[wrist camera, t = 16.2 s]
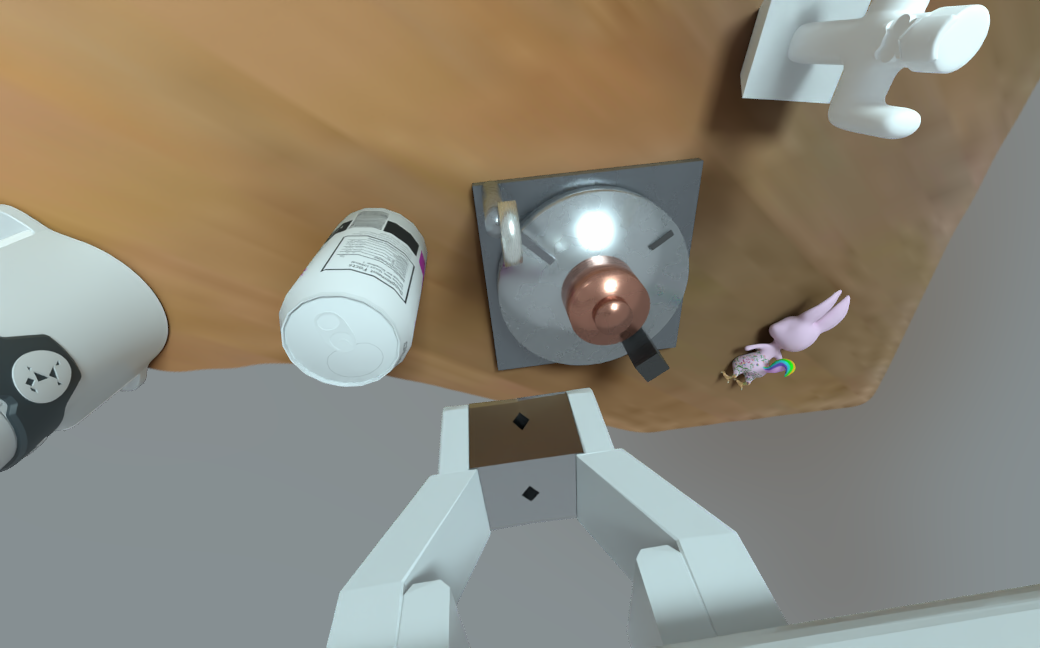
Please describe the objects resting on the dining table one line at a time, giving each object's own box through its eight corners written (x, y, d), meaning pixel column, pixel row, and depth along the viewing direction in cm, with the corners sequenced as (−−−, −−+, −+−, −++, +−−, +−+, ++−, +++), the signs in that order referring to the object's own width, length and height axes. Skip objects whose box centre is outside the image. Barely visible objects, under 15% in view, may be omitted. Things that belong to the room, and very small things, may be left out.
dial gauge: (487, 237, 38) (494, 294, 29) (479, 174, 35) (483, 216, 26) (541, 231, 38) (564, 285, 29) (538, 167, 35) (562, 207, 26)
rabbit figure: (740, 375, 54) (852, 295, 46) (761, 413, 50) (889, 332, 42) (707, 358, 52) (818, 270, 44) (725, 396, 48) (853, 306, 39)
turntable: (568, 380, 48) (582, 426, 42) (457, 273, 39) (455, 312, 34) (709, 285, 43) (748, 321, 37) (618, 139, 34) (649, 157, 29)
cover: (588, 333, 42) (603, 366, 38) (546, 288, 39) (556, 318, 35) (648, 291, 40) (670, 320, 36) (608, 240, 37) (627, 264, 33)
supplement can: (442, 272, 41) (431, 370, 28) (363, 300, 41) (318, 408, 29) (403, 192, 36) (370, 266, 24) (316, 224, 37) (239, 312, 24)
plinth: (497, 364, 47) (498, 370, 46) (472, 183, 36) (472, 186, 36) (672, 341, 48) (675, 347, 47) (698, 158, 37) (703, 160, 36)
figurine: (844, -29, 31) (1100, -84, 19) (792, 113, 36) (966, 146, 24) (753, -39, 30) (958, -103, 18) (713, 108, 35) (850, 140, 23)
